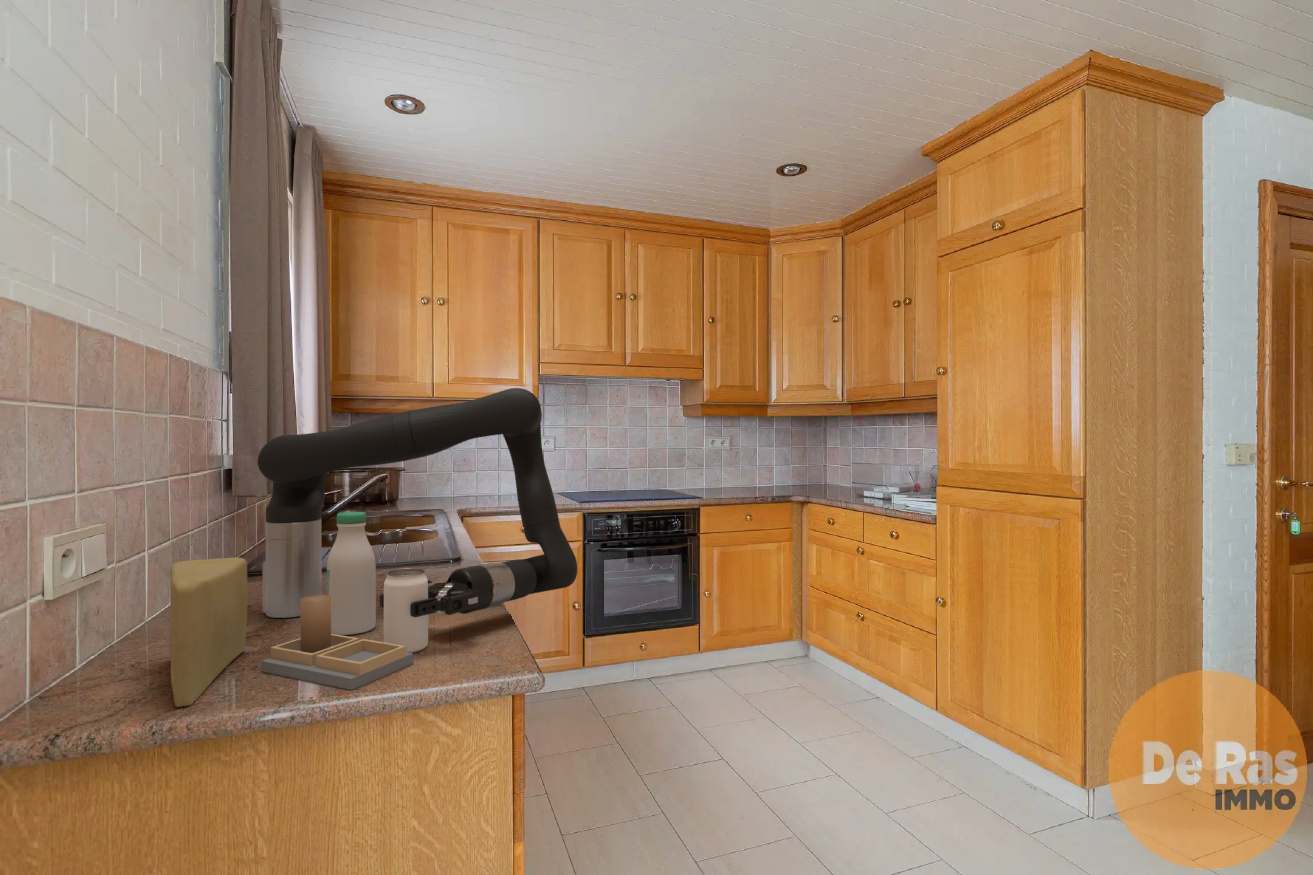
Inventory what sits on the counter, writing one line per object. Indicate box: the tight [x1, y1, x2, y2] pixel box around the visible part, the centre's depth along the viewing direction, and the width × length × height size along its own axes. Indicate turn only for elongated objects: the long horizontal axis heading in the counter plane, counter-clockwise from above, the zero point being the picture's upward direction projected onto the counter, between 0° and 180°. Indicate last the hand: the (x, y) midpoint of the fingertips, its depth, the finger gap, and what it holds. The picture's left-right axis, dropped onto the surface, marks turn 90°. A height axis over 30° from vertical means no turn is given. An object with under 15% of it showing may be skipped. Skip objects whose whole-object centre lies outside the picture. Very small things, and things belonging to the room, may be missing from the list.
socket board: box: [260, 594, 414, 691], centre depth 96 cm, size 17×11×10 cm, turn 67°
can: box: [383, 567, 429, 654], centre depth 105 cm, size 6×6×12 cm
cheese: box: [169, 557, 248, 708], centre depth 92 cm, size 22×10×15 cm, turn 26°
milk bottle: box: [325, 511, 377, 636], centre depth 115 cm, size 8×8×20 cm
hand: (396, 605), depth 103 cm, fingers open, 8 cm apart
